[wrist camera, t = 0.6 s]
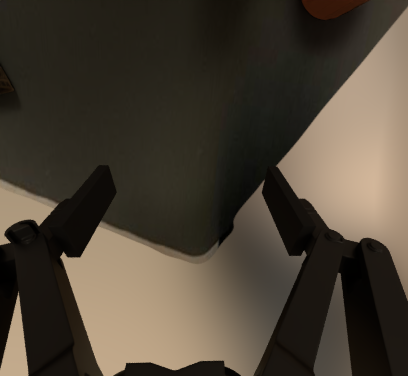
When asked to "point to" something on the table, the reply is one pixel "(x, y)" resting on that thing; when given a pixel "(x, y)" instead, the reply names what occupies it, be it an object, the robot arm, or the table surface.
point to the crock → (331, 7)
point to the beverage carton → (4, 83)
